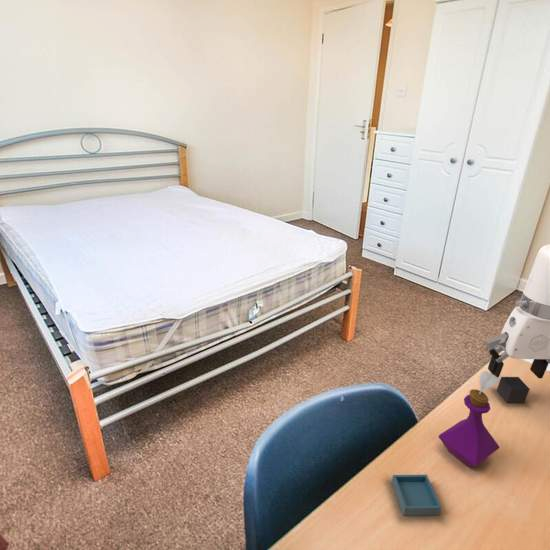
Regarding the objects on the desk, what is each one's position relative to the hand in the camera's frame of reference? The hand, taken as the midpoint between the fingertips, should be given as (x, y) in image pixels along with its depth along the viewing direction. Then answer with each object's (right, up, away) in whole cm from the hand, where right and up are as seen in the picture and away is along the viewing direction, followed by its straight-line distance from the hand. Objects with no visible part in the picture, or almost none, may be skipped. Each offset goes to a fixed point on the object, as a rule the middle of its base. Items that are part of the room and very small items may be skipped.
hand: (514, 373), depth 83 cm
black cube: (0, -6, +2) cm, 6 cm away
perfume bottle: (-17, -12, -13) cm, 24 cm away
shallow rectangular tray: (-30, -15, -21) cm, 39 cm away
